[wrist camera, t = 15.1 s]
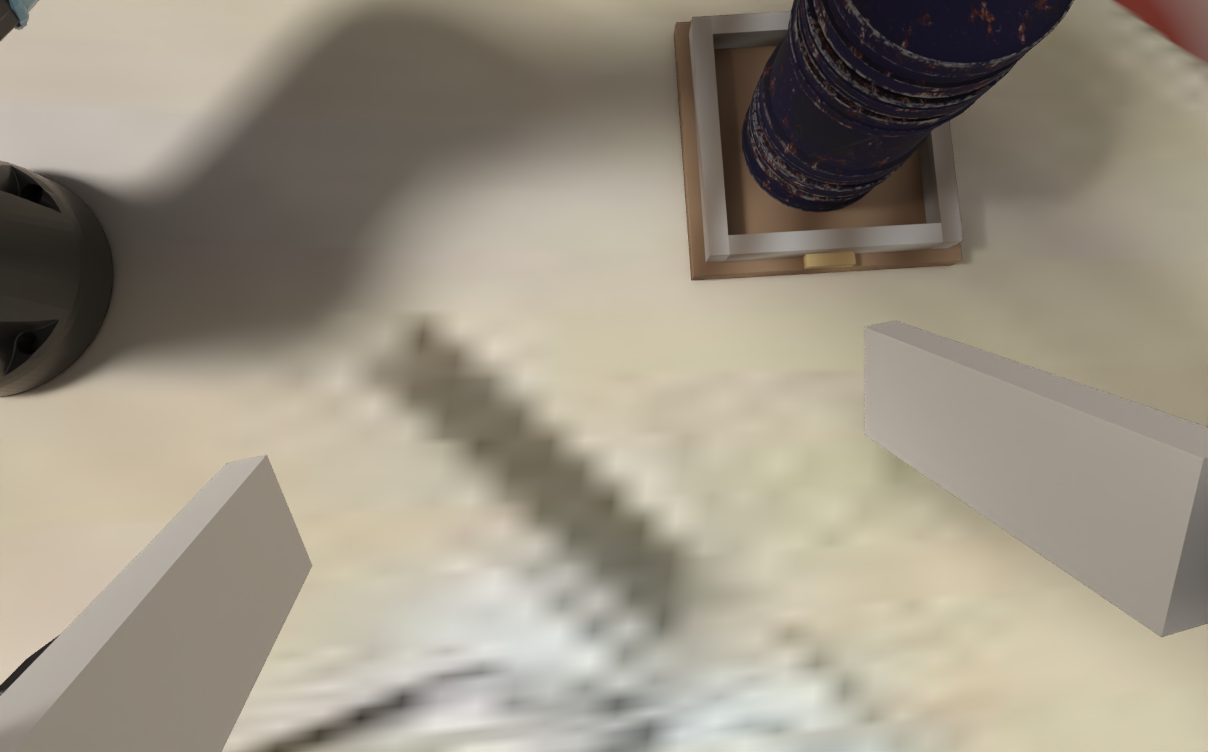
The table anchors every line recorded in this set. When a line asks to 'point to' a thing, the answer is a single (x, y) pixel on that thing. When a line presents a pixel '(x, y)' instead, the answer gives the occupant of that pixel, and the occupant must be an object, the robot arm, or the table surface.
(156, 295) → the table surface
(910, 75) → the rusty blue barrel
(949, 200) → the cradle plate
